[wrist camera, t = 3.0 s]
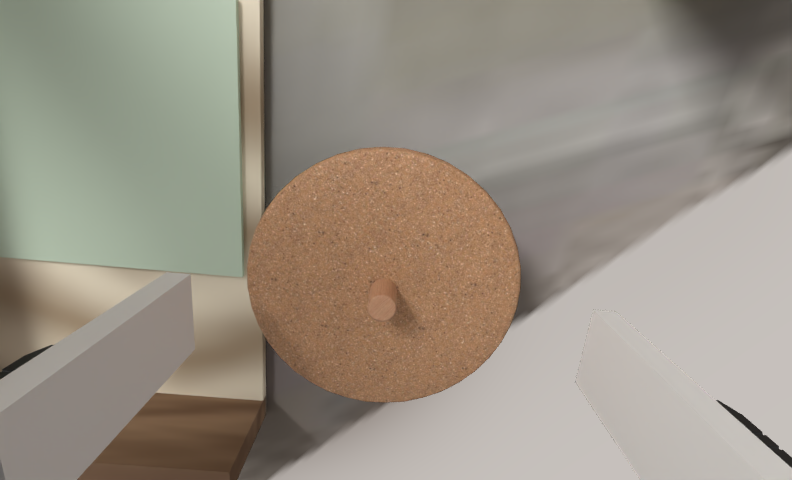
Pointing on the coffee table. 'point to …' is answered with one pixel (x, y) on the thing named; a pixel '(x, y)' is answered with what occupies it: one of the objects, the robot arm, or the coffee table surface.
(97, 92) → the pad
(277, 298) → the lidded jar
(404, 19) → the coffee table surface
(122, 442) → the walls
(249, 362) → the board
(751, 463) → the robot arm
